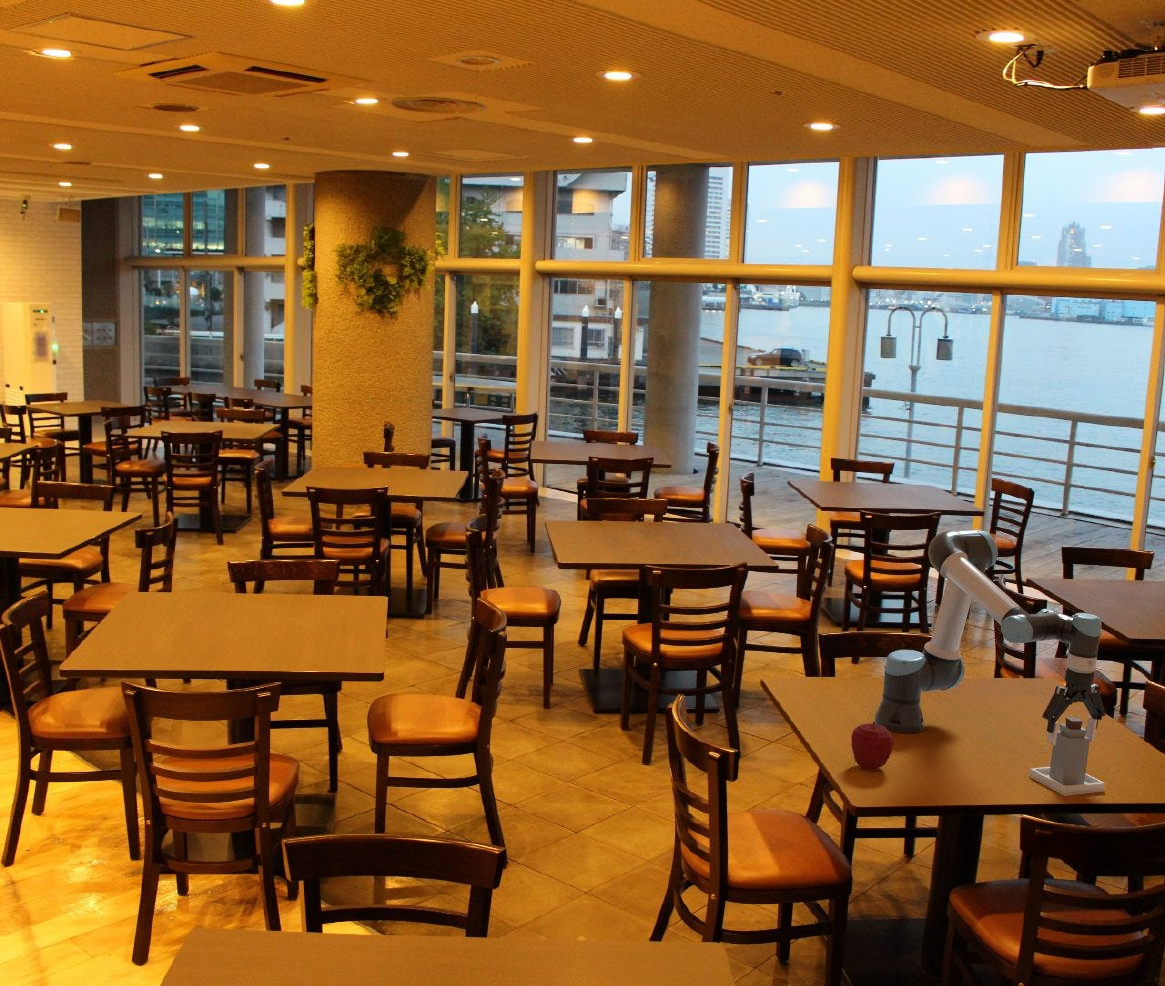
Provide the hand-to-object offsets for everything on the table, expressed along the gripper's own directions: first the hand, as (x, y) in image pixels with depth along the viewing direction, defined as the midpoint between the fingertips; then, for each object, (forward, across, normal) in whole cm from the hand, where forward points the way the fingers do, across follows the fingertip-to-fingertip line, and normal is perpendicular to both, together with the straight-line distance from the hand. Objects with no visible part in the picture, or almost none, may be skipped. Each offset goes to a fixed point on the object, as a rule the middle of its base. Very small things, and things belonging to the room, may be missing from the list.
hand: (1070, 741), depth 348 cm
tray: (+12, 0, -1) cm, 12 cm away
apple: (+13, -50, +22) cm, 56 cm away
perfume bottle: (+11, 0, -1) cm, 11 cm away
